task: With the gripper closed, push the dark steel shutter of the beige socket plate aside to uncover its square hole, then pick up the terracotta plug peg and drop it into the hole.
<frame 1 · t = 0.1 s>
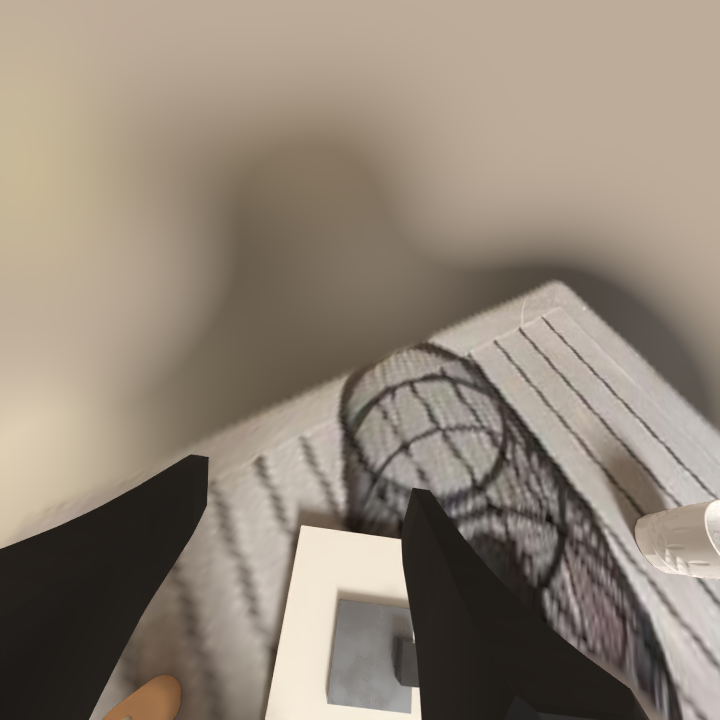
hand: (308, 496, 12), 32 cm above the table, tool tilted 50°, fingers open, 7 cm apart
socket plate: (368, 645, 35), on the table
plug peg: (158, 703, 31), on the table
shutter: (374, 655, 31), point 4 cm above the table, slide at 0.0 cm
white cup: (657, 543, 44), on the table
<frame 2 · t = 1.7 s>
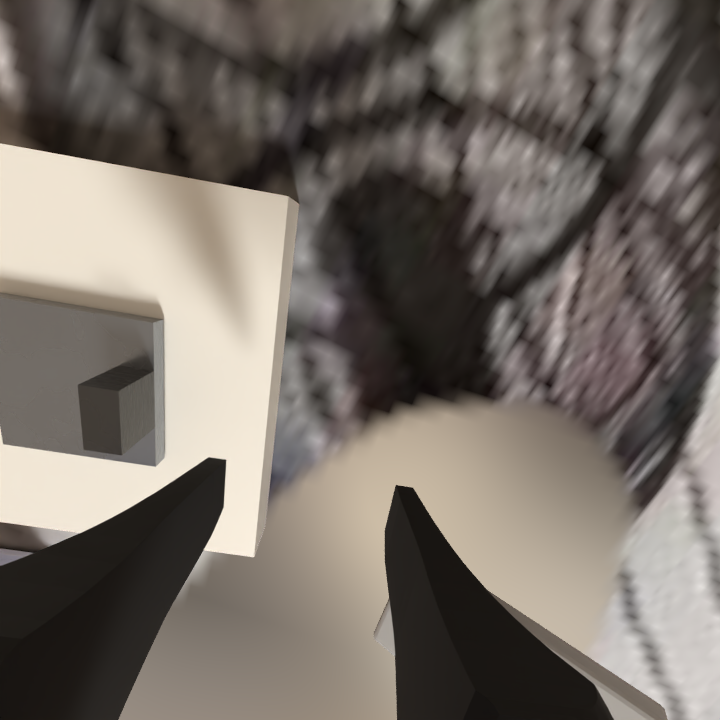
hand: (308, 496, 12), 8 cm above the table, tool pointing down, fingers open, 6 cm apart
socket plate: (122, 364, 19), on the table
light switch: (474, 602, 25), on the table
shutter: (59, 394, 15), point 4 cm above the table, slide at 0.0 cm
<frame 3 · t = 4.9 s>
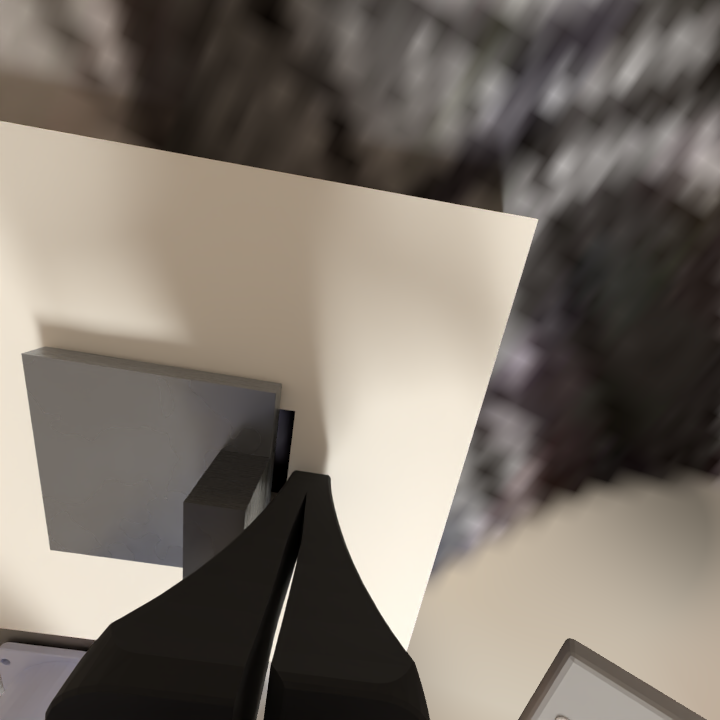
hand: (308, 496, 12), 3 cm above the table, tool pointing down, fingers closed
socket plate: (235, 432, 15), on the table
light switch: (634, 698, 20), on the table
shutter: (138, 494, 11), point 4 cm above the table, slide at 1.5 cm, touching gripper
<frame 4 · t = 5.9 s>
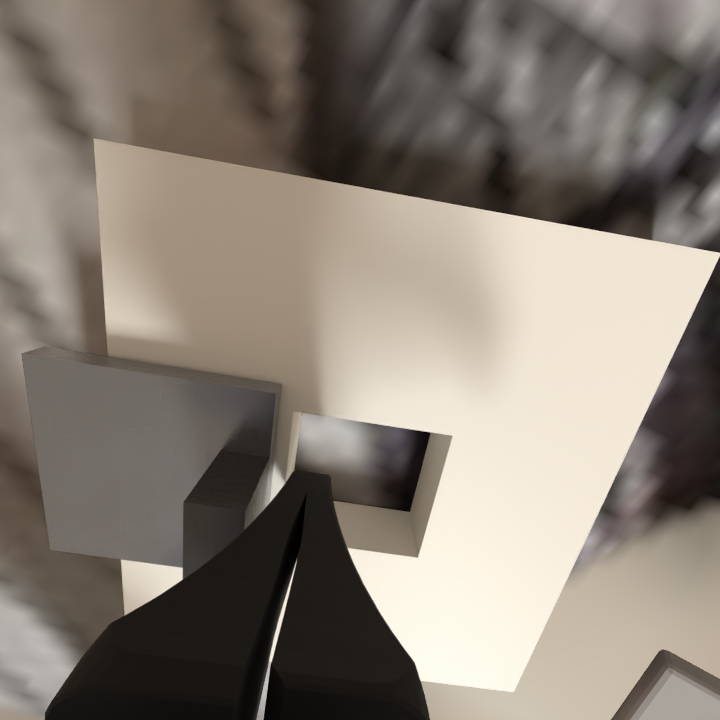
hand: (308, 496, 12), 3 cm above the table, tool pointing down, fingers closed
socket plate: (361, 452, 15), on the table
shutter: (138, 495, 11), point 4 cm above the table, slide at 7.1 cm, touching gripper
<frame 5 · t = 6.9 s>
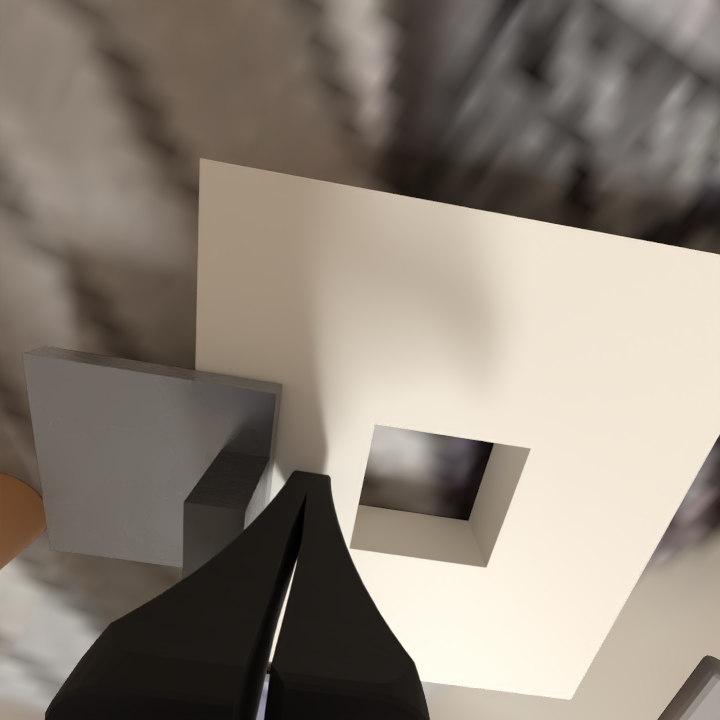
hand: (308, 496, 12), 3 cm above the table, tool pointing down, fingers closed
socket plate: (423, 461, 15), on the table
plug peg: (5, 508, 16), on the table
shutter: (138, 494, 11), point 4 cm above the table, slide at 9.9 cm, touching gripper
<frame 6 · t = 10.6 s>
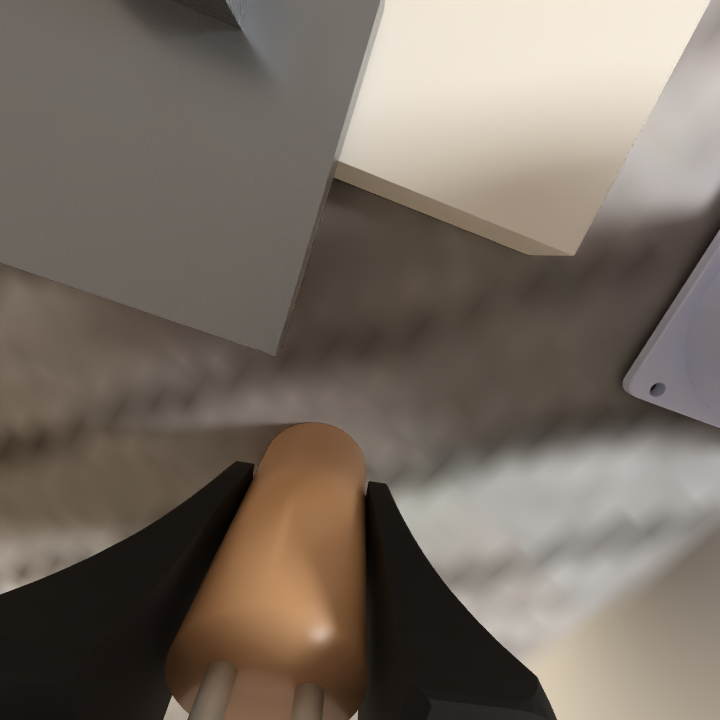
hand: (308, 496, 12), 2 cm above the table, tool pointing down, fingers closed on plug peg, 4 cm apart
plug peg: (314, 467, 13), on the table, touching gripper
shutter: (117, 111, 6), point 4 cm above the table, slide at 9.9 cm
when the fingers open (3 cm above the table, at t = 15.4 s): plug peg drops 2 cm, resting in socket plate.
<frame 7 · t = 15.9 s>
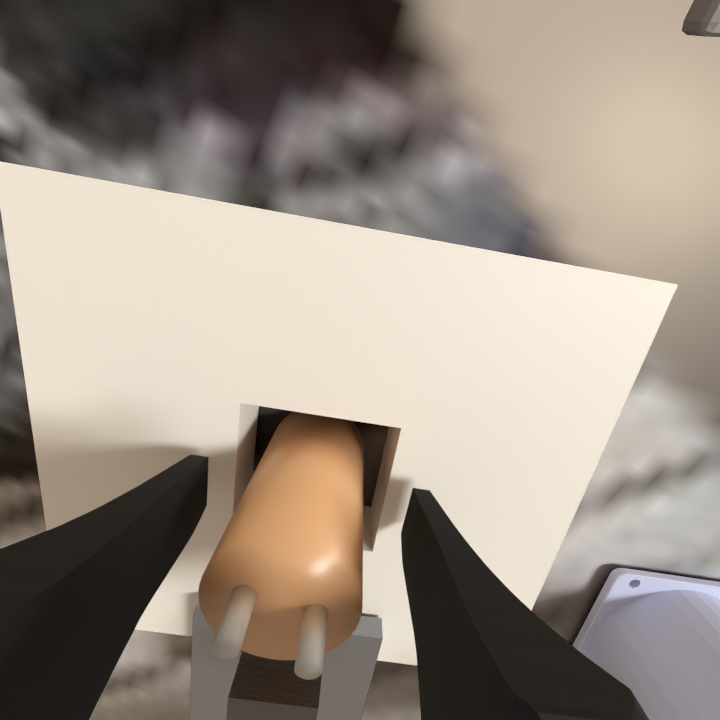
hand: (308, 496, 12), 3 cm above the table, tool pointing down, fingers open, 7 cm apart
socket plate: (319, 446, 15), on the table
plug peg: (318, 447, 15), resting in socket plate
shutter: (274, 712, 14), point 4 cm above the table, slide at 9.9 cm
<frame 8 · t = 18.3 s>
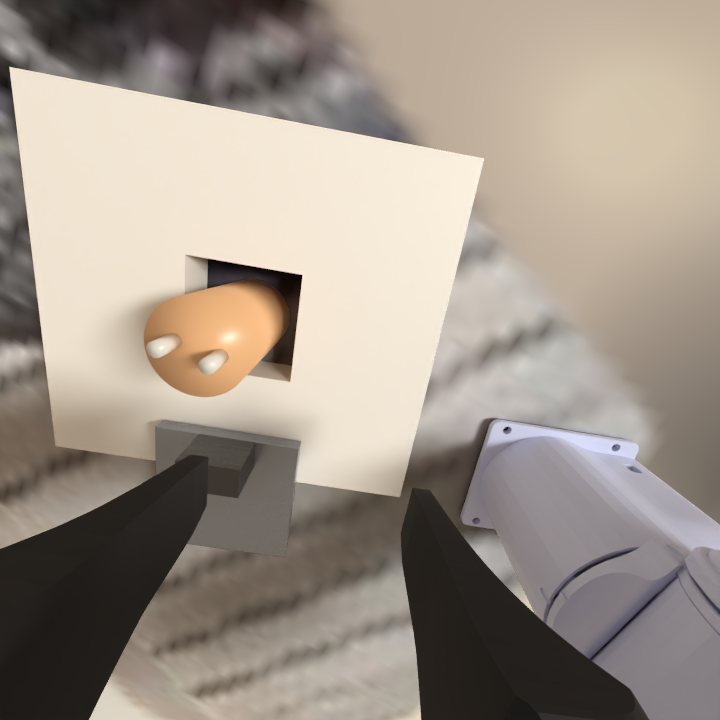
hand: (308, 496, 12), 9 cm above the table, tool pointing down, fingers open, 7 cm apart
socket plate: (255, 313, 19), on the table
plug peg: (254, 314, 19), resting in socket plate
shutter: (218, 506, 18), point 4 cm above the table, slide at 9.9 cm
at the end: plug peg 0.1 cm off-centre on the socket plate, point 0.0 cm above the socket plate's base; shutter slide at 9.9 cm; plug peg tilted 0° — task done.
